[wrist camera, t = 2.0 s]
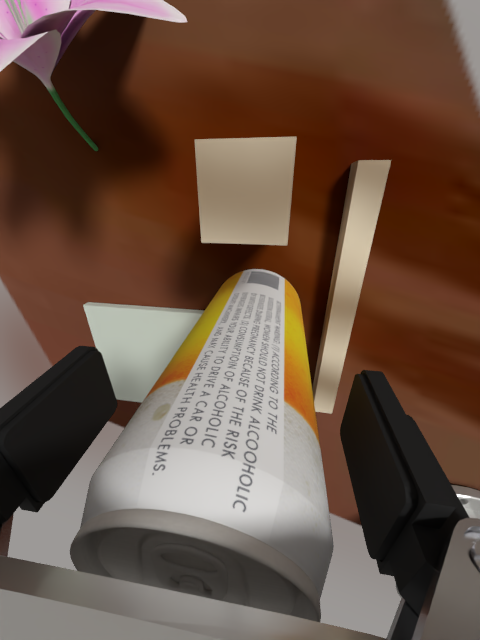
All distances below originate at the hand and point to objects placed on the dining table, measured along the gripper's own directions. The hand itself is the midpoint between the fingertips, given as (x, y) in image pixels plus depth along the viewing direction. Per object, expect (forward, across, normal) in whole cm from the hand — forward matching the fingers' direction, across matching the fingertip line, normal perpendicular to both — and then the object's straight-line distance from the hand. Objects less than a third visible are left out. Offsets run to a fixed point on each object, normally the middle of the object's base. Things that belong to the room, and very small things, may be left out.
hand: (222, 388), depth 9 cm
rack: (+10, -3, +1) cm, 10 cm away
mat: (+10, +8, +7) cm, 15 cm away
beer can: (+10, -1, +1) cm, 10 cm away
